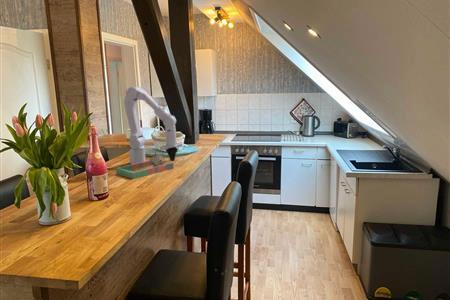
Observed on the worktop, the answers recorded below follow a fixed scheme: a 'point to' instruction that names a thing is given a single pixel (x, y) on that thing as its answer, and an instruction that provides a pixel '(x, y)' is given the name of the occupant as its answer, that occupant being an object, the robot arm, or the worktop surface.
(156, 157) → the game die
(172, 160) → the robot arm
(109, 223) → the worktop surface
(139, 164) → the trap track
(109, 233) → the worktop surface
